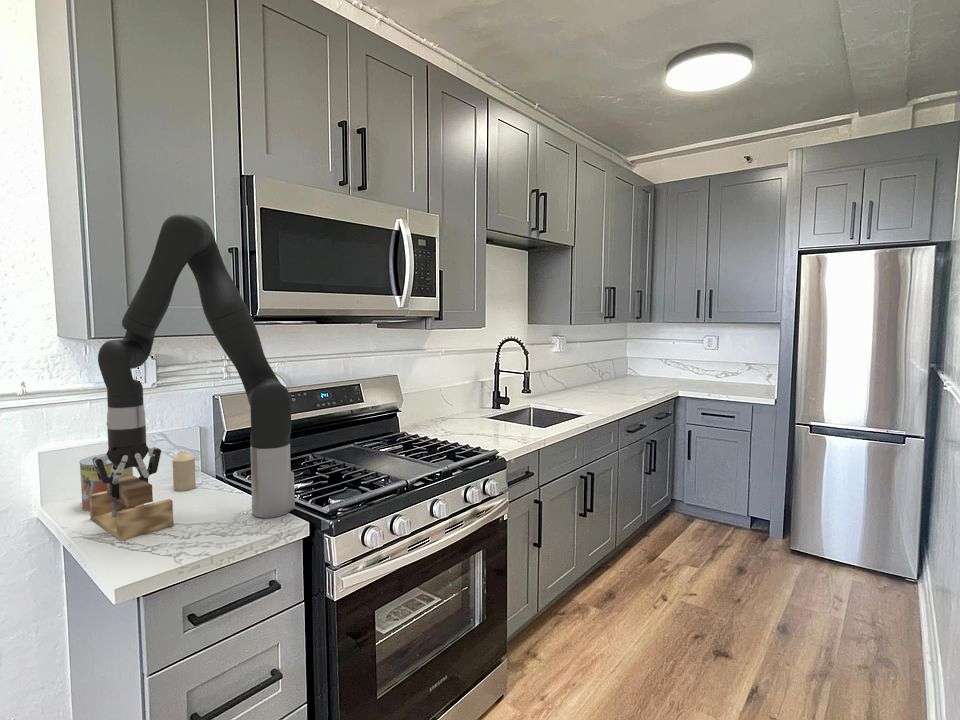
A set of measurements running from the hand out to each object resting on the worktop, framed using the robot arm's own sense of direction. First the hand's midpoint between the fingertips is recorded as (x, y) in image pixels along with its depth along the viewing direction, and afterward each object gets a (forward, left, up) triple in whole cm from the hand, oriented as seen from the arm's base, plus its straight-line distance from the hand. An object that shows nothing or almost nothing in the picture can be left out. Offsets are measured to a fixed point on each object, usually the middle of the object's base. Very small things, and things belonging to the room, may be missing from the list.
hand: (129, 495), depth 128 cm
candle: (-19, -16, -7) cm, 26 cm away
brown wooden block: (0, 0, -1) cm, 1 cm away
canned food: (-1, -18, -7) cm, 19 cm away
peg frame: (0, 0, -7) cm, 7 cm away
